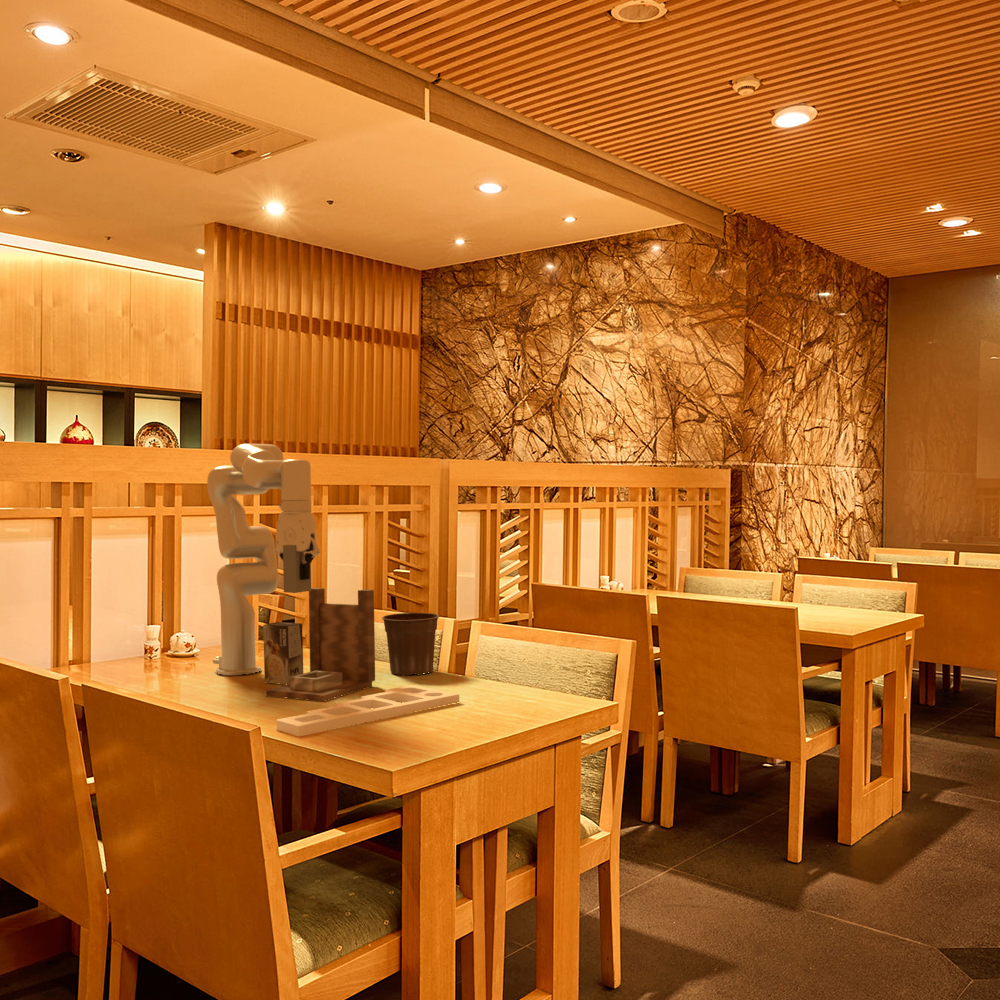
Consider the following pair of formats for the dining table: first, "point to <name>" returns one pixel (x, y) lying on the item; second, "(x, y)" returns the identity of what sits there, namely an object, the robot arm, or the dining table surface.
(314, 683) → the wooden display stand
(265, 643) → the coffee box
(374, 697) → the holder
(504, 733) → the dining table surface
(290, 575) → the plain rectangular block
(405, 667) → the plant pot
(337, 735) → the dining table surface
